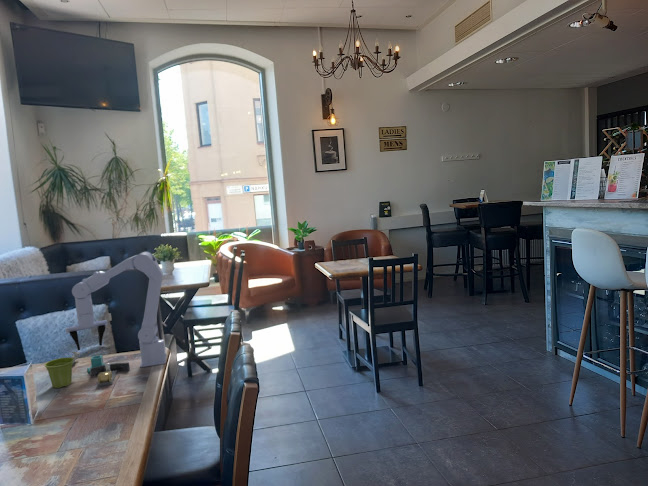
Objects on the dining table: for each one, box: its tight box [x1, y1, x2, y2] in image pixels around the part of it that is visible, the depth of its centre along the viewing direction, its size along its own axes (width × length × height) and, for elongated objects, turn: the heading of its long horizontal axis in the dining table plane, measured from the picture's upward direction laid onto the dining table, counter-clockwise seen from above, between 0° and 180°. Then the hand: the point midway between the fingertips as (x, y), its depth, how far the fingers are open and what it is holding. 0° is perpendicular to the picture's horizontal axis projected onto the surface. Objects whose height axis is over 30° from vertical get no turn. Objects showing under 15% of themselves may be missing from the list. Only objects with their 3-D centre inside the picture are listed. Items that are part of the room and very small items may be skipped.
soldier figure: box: [70, 351, 82, 365], centre depth 199 cm, size 8×5×12 cm
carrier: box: [89, 361, 131, 387], centre depth 181 cm, size 14×15×5 cm
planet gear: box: [86, 354, 106, 374], centre depth 191 cm, size 8×8×5 cm
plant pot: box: [44, 357, 74, 389], centre depth 177 cm, size 9×9×9 cm
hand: (89, 347), depth 189 cm, fingers open, 7 cm apart
